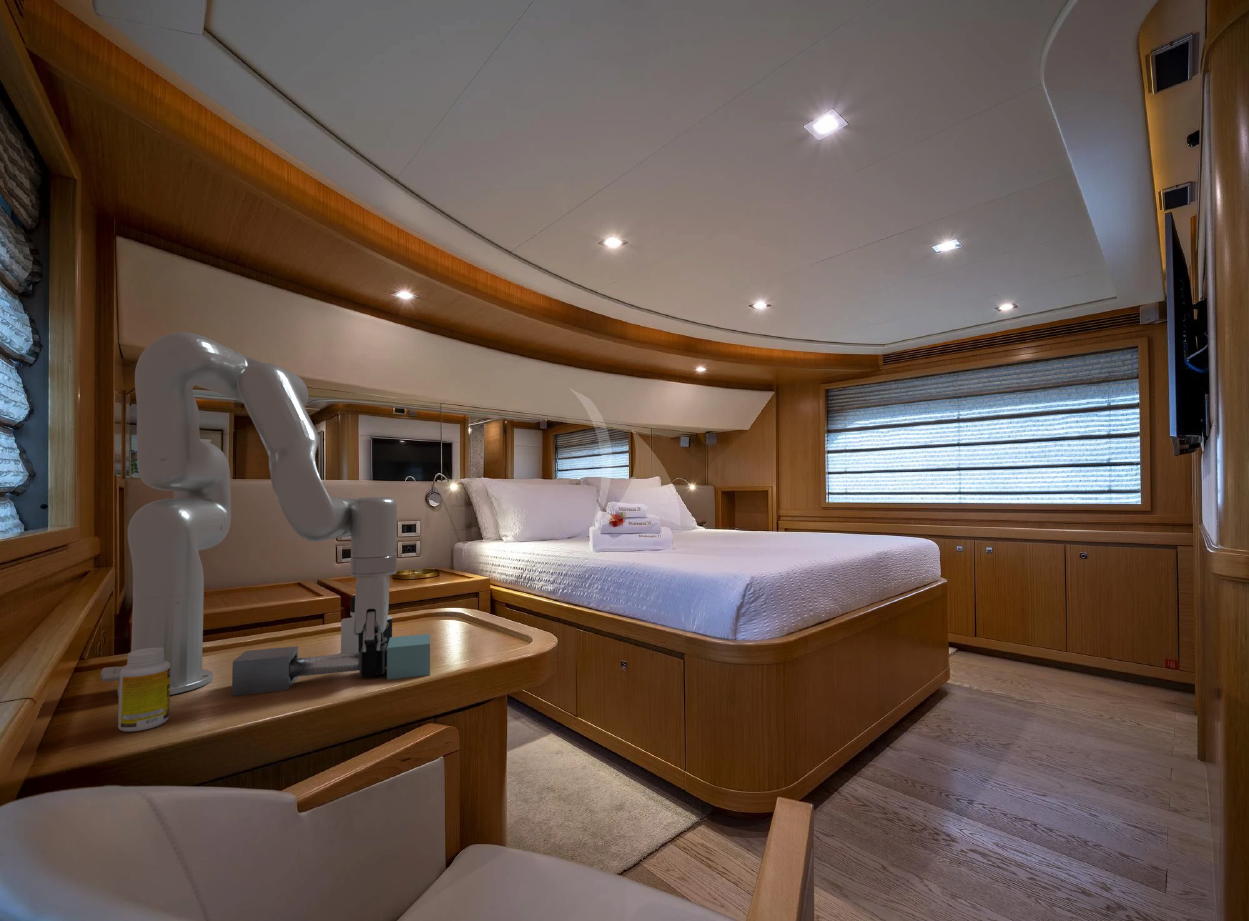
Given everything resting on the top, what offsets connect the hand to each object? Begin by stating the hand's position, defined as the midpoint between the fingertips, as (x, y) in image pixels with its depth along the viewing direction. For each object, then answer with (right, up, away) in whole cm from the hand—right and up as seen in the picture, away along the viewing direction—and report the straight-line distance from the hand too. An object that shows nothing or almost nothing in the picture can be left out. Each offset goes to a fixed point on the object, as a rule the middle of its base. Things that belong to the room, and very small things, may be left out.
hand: (373, 669), depth 103 cm
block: (+6, -1, +2) cm, 6 cm away
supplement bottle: (-23, 0, -22) cm, 31 cm away
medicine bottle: (-7, -2, +14) cm, 16 cm away
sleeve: (-16, -1, -5) cm, 17 cm away
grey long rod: (-5, 0, -2) cm, 5 cm away
